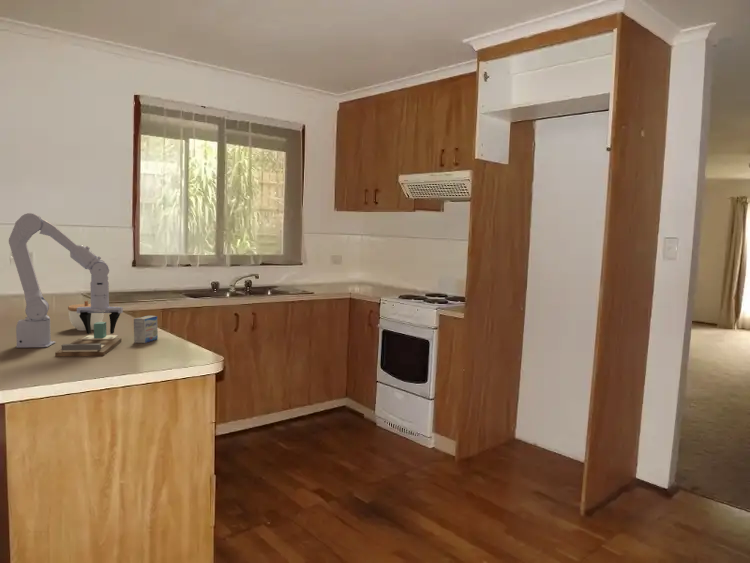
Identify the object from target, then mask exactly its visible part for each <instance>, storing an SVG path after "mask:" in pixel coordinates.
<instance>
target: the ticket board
mask: <svg viewBox="0 0 750 563" xmlns="http://www.w3.org/2000/svg"><path fill="white" fill-rule="evenodd" d="M82 339H83V338H77V339H75V341H72V342H71V343H70V344H105V346H104V347H103V348H101V349H100V350H99V351H95V352H63V350H62V348H60V349H59V350H58V351H55V353H54V355H55V357H104V356H105V355H107V354H108V353H109V352H110V351H112V350H113V349H114V348H115V347H116V346H118V345H119V344H120V343H122V337H121V338H118V337H116V338H115V339H113V340H82Z"/></svg>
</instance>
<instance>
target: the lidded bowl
mask: <svg viewBox="0 0 750 563" xmlns="http://www.w3.org/2000/svg"><path fill="white" fill-rule="evenodd" d="M78 307H91V303H89V301H88V300H85V301H84V303H79V304H78V303H77V304H70V305H69V306H67V310H68V319H69V322H70V323H71V326H72V327H74V328H75V329H76V331H86V329H85V326H84V324H83V322H82V320H81V318H80V316H79V315H80V313H77V308H78ZM104 316H105V313H91V321H90V325H91V331H94V324H95V323H96V322H103V320H104Z"/></svg>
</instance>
